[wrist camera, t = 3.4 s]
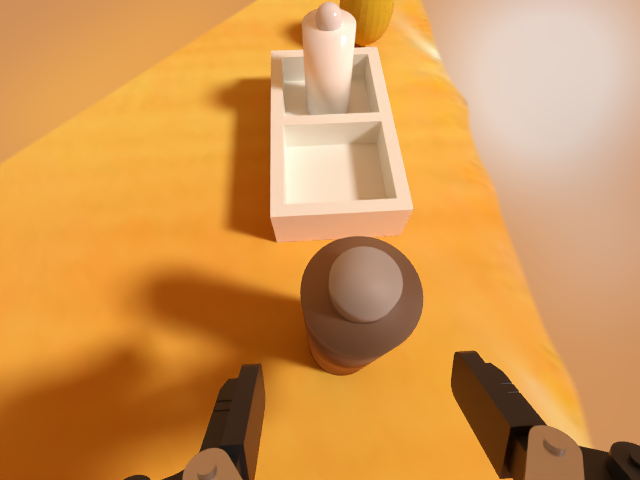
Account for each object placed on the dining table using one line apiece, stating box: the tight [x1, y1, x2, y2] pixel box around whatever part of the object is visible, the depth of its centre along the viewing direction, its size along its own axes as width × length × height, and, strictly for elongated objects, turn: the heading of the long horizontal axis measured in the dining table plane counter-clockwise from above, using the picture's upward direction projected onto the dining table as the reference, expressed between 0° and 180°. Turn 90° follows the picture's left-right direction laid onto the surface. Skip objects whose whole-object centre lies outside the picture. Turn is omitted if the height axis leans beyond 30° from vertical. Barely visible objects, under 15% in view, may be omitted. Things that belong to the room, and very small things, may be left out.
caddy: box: [270, 47, 414, 242], centre depth 28 cm, size 18×10×4 cm, turn 4°
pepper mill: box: [300, 236, 423, 376], centre depth 16 cm, size 4×4×13 cm
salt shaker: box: [302, 2, 356, 115], centre depth 26 cm, size 4×4×9 cm
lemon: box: [339, 0, 394, 47], centre depth 33 cm, size 6×6×8 cm
